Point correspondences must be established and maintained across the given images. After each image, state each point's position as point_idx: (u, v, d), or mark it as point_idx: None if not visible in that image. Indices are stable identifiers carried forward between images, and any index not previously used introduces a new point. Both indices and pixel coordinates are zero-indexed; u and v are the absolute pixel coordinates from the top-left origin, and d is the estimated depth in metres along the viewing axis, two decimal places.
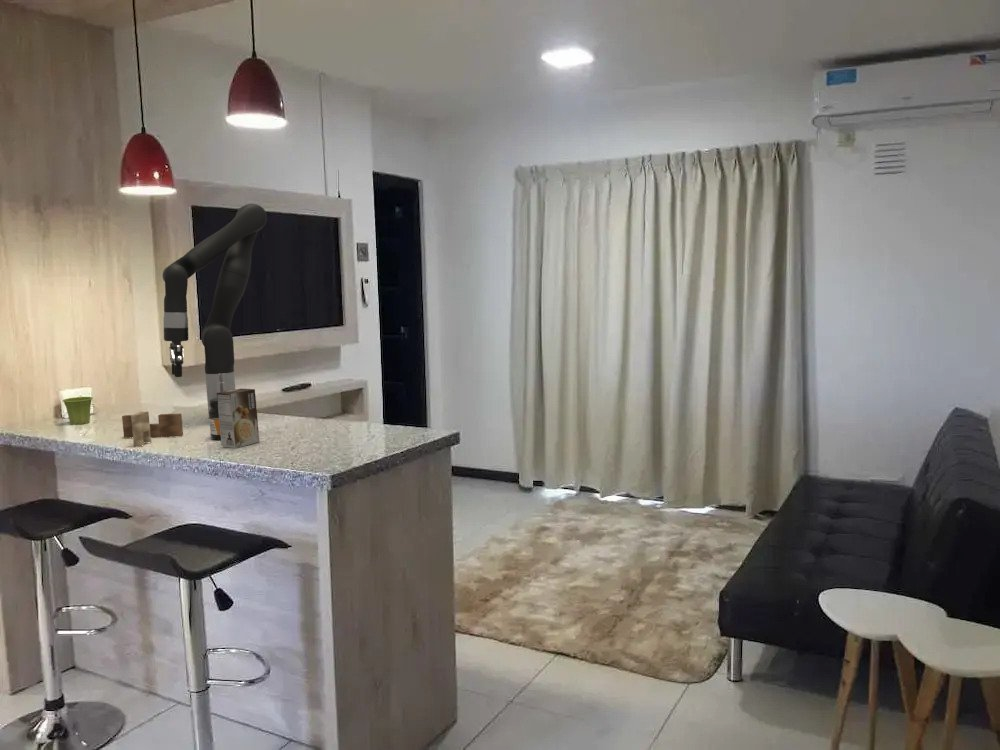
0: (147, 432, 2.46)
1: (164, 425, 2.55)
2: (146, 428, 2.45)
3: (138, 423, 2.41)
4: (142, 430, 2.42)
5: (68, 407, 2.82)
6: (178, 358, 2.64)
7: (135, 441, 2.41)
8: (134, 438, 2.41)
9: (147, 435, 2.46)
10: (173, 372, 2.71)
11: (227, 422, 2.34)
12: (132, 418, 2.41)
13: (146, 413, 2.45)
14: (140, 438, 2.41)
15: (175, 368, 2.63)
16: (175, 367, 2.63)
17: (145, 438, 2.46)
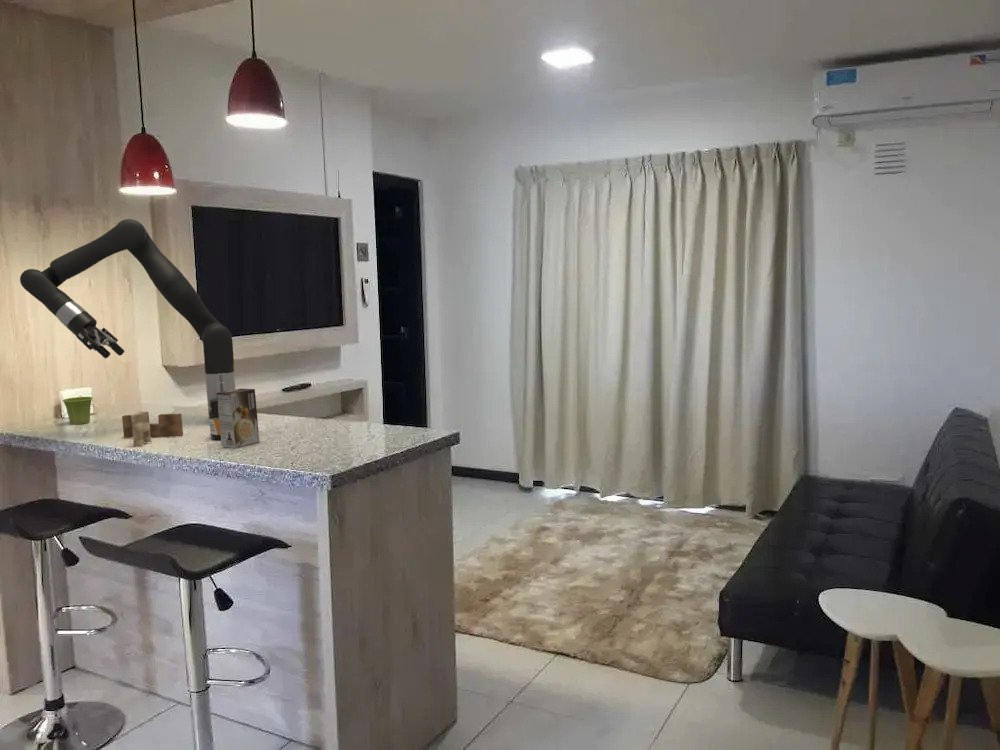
0: (147, 432, 2.46)
1: (164, 425, 2.55)
2: (146, 428, 2.45)
3: (138, 423, 2.41)
4: (142, 430, 2.42)
5: (68, 407, 2.82)
6: (95, 342, 2.50)
7: (135, 441, 2.41)
8: (134, 438, 2.41)
9: (147, 435, 2.46)
10: (118, 353, 2.58)
11: (227, 422, 2.34)
12: (132, 418, 2.41)
13: (146, 413, 2.45)
14: (140, 438, 2.41)
15: (99, 352, 2.49)
16: (98, 351, 2.49)
17: (145, 438, 2.46)
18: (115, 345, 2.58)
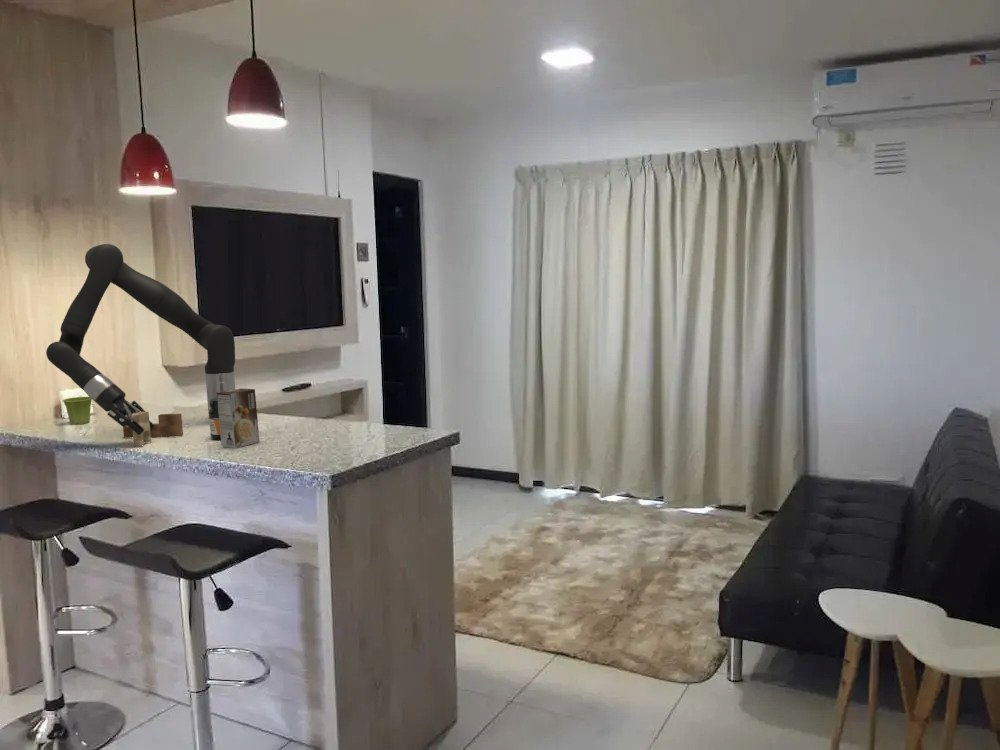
0: (147, 432, 2.46)
1: (164, 425, 2.55)
2: (146, 428, 2.45)
3: (138, 423, 2.41)
4: None
5: (68, 407, 2.82)
6: (127, 417, 2.41)
7: (135, 441, 2.41)
8: (134, 438, 2.41)
9: (147, 435, 2.46)
10: None
11: (227, 422, 2.34)
12: None
13: (146, 413, 2.45)
14: (140, 438, 2.41)
15: (132, 428, 2.40)
16: (131, 427, 2.40)
17: (145, 438, 2.46)
18: None
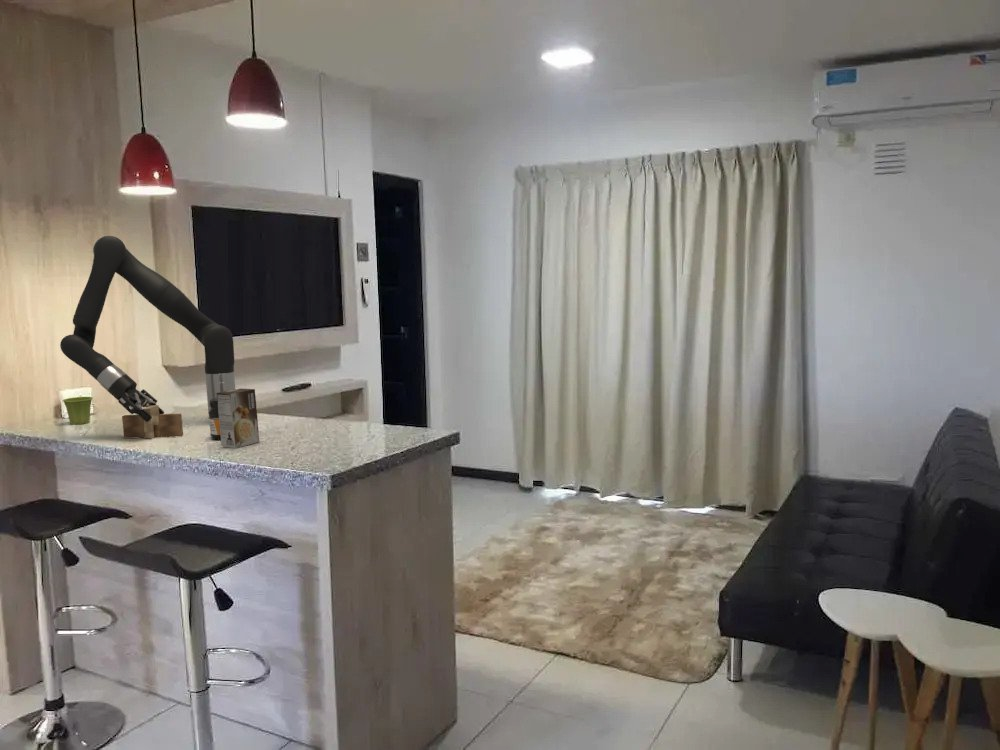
0: None
1: (164, 425, 2.55)
2: (157, 421, 2.57)
3: None
4: (153, 423, 2.54)
5: (68, 407, 2.82)
6: (136, 406, 2.51)
7: (146, 433, 2.53)
8: (145, 430, 2.53)
9: None
10: None
11: (227, 422, 2.34)
12: None
13: (156, 407, 2.57)
14: (151, 431, 2.53)
15: None
16: None
17: None
18: None
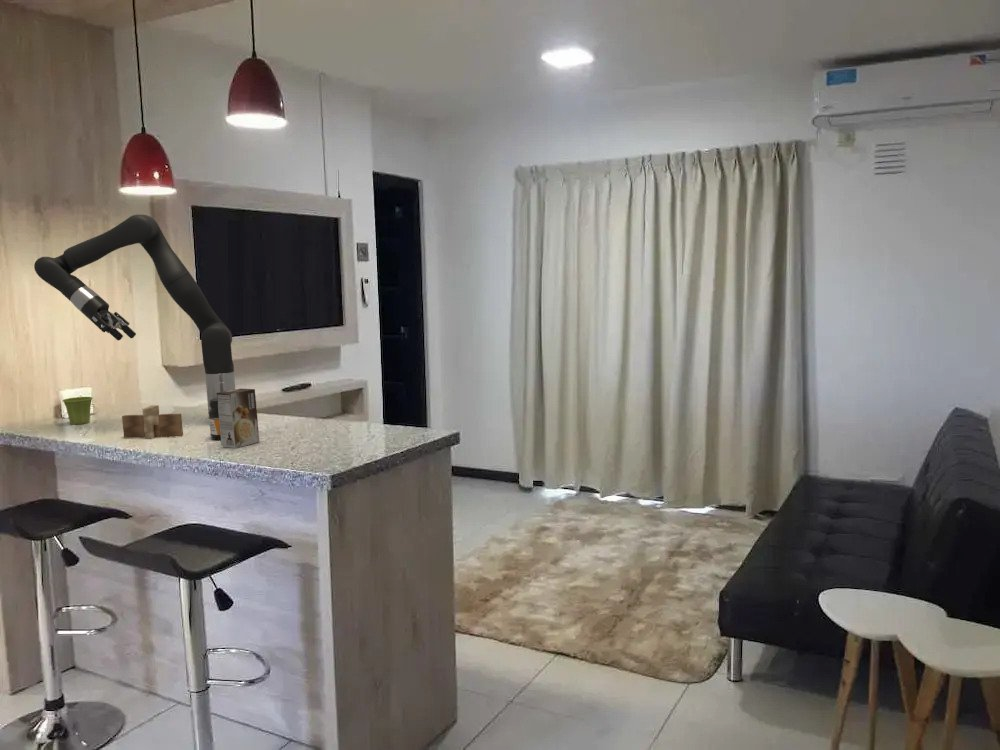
0: None
1: (164, 425, 2.55)
2: (157, 421, 2.57)
3: (149, 416, 2.52)
4: (153, 423, 2.54)
5: (68, 407, 2.82)
6: (108, 325, 2.61)
7: (146, 433, 2.53)
8: (145, 430, 2.53)
9: None
10: (130, 336, 2.69)
11: (227, 422, 2.34)
12: (143, 411, 2.52)
13: (156, 407, 2.57)
14: (151, 431, 2.53)
15: (112, 334, 2.60)
16: (111, 333, 2.60)
17: None
18: (127, 328, 2.68)
